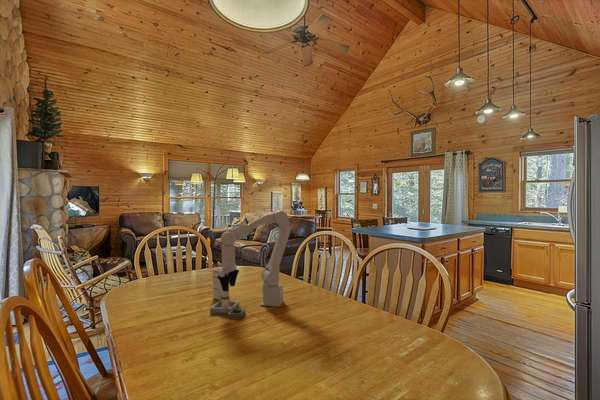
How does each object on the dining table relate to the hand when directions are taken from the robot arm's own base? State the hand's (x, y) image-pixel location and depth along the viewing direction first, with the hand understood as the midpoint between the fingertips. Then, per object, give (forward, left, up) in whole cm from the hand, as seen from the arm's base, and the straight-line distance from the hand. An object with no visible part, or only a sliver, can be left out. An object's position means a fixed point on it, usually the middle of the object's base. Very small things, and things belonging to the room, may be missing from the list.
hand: (229, 288), depth 139 cm
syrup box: (+11, -14, -10) cm, 20 cm away
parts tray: (+1, +2, -9) cm, 10 cm away
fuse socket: (-6, +7, -9) cm, 13 cm away
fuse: (+1, +2, -9) cm, 9 cm away
